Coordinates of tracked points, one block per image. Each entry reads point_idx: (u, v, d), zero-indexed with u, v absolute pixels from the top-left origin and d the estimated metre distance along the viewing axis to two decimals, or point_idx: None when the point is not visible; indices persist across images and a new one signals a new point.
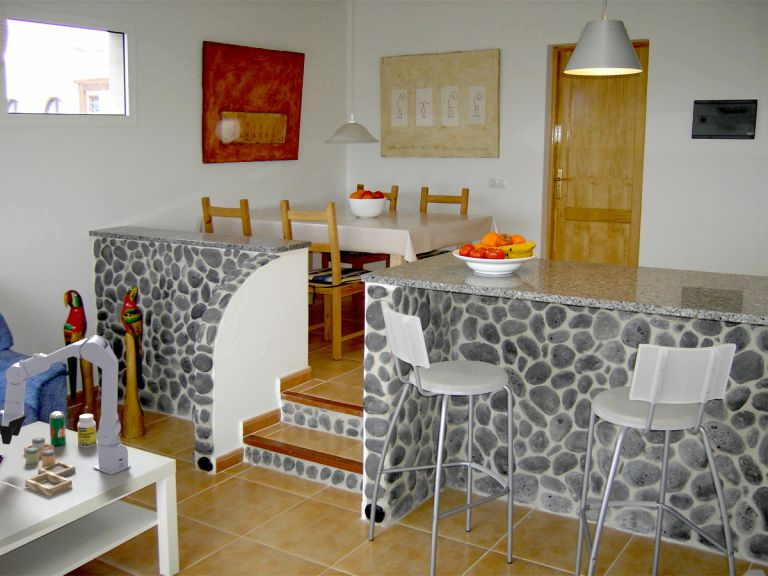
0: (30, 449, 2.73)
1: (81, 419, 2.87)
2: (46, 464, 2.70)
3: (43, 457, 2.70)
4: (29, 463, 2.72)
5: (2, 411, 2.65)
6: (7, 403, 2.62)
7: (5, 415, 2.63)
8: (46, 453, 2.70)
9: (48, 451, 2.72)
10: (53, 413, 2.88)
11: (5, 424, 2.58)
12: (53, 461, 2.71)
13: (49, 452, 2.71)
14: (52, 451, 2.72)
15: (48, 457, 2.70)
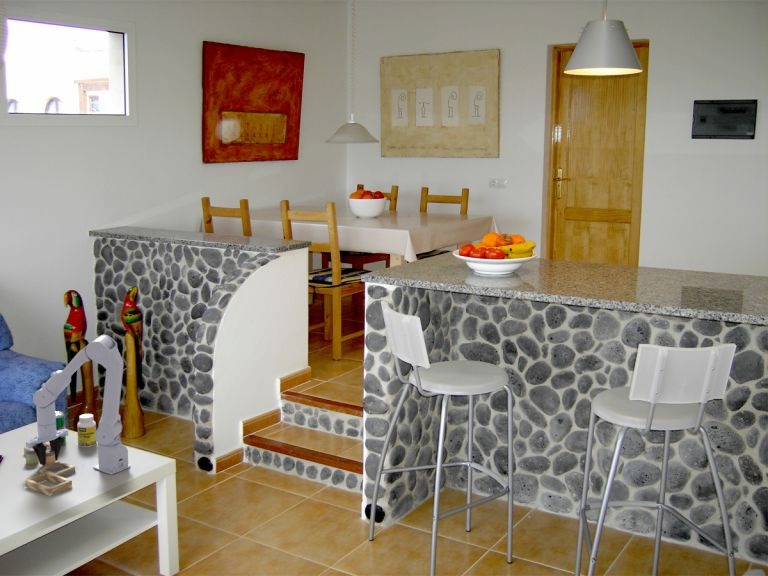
0: (30, 449, 2.73)
1: (81, 419, 2.87)
2: (46, 464, 2.70)
3: None
4: (29, 463, 2.72)
5: None
6: (37, 425, 2.68)
7: (37, 437, 2.69)
8: (46, 453, 2.70)
9: (48, 451, 2.72)
10: None
11: (28, 446, 2.65)
12: (53, 461, 2.71)
13: (49, 452, 2.71)
14: (52, 451, 2.72)
15: (48, 457, 2.70)
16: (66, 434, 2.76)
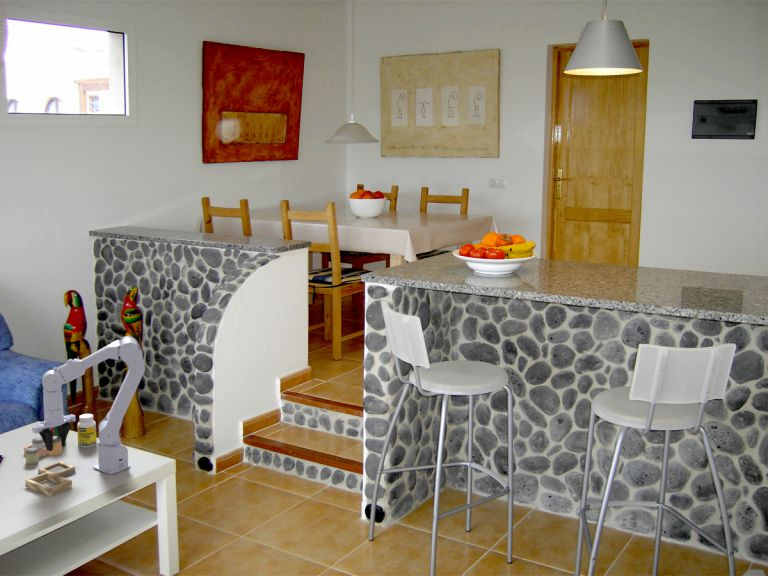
0: (30, 449, 2.73)
1: (81, 419, 2.87)
2: (52, 451, 2.64)
3: None
4: (29, 463, 2.72)
5: None
6: (44, 410, 2.62)
7: (43, 423, 2.62)
8: None
9: (54, 437, 2.65)
10: None
11: (34, 431, 2.58)
12: (59, 448, 2.65)
13: (55, 438, 2.65)
14: (58, 437, 2.65)
15: (54, 443, 2.63)
16: (73, 420, 2.69)
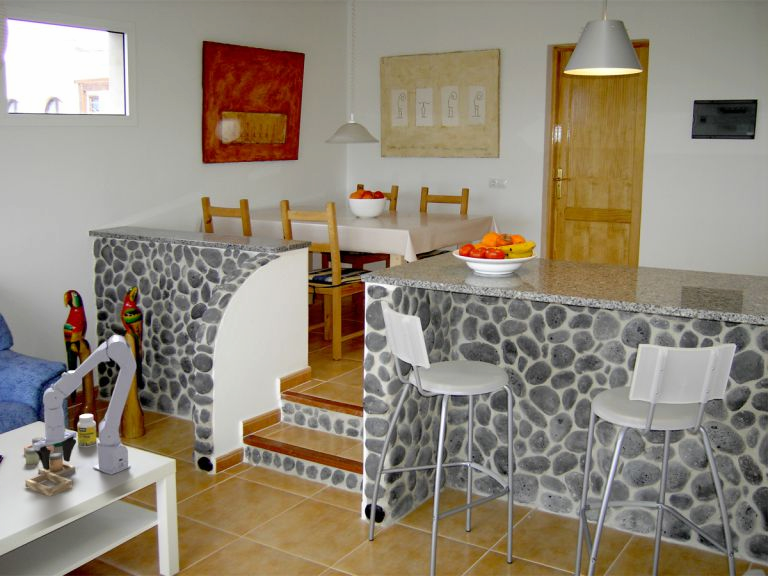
0: (30, 449, 2.73)
1: (81, 419, 2.87)
2: (53, 468, 2.65)
3: (50, 461, 2.65)
4: (29, 463, 2.72)
5: None
6: (45, 427, 2.63)
7: (44, 439, 2.63)
8: (53, 457, 2.65)
9: (55, 454, 2.66)
10: None
11: (35, 448, 2.59)
12: (60, 465, 2.66)
13: (56, 456, 2.66)
14: (59, 455, 2.66)
15: (55, 461, 2.64)
16: (74, 436, 2.70)
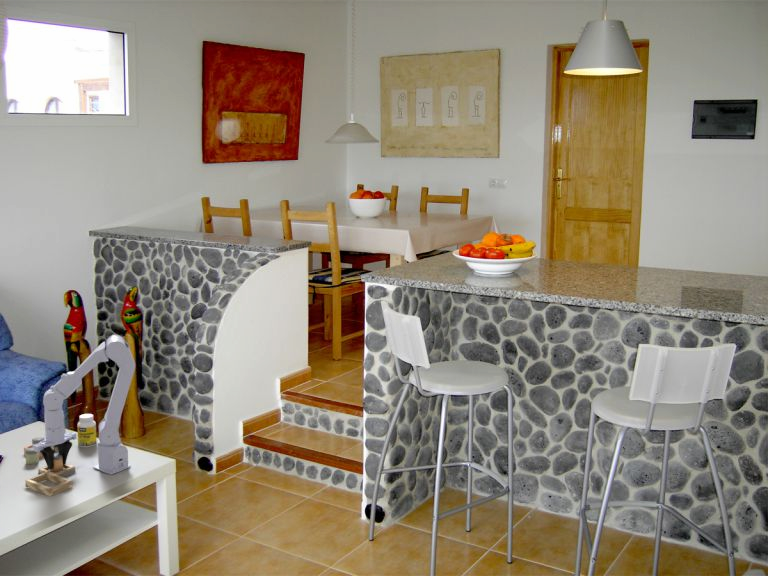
0: (30, 449, 2.73)
1: (81, 419, 2.87)
2: (53, 468, 2.65)
3: None
4: (29, 463, 2.72)
5: None
6: (45, 429, 2.63)
7: (45, 441, 2.64)
8: None
9: (55, 454, 2.66)
10: None
11: (35, 450, 2.59)
12: (60, 465, 2.66)
13: (56, 456, 2.66)
14: (59, 455, 2.66)
15: (55, 461, 2.64)
16: (74, 437, 2.70)
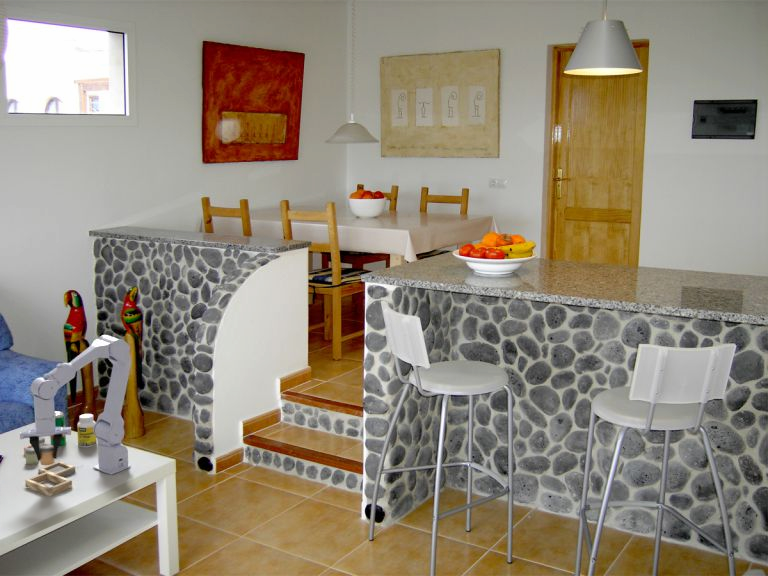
0: (30, 449, 2.73)
1: (81, 419, 2.87)
2: (41, 460, 2.54)
3: (40, 452, 2.55)
4: (29, 463, 2.72)
5: None
6: None
7: None
8: (42, 448, 2.54)
9: (47, 447, 2.55)
10: None
11: (20, 436, 2.51)
12: (47, 459, 2.54)
13: (46, 448, 2.54)
14: (50, 448, 2.55)
15: (42, 453, 2.53)
16: (68, 433, 2.55)
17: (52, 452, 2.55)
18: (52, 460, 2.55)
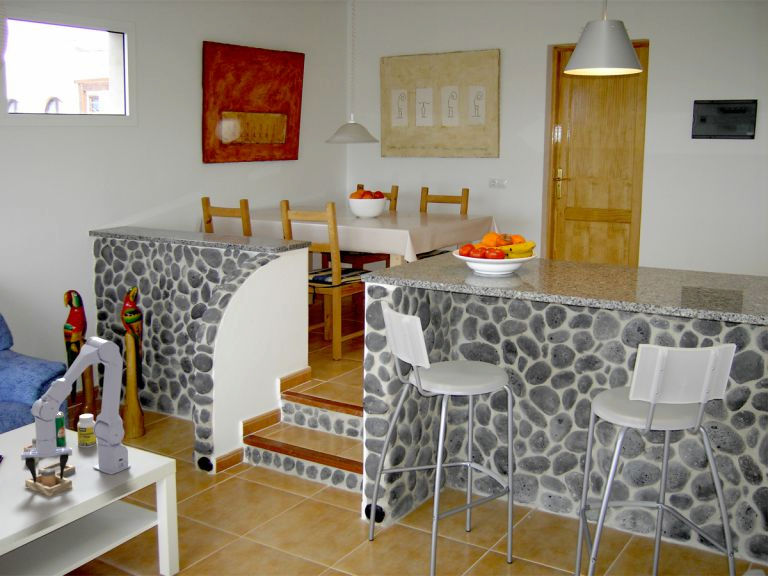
0: (30, 449, 2.73)
1: (81, 419, 2.87)
2: (42, 483, 2.56)
3: None
4: None
5: None
6: None
7: None
8: (44, 472, 2.55)
9: (49, 470, 2.57)
10: None
11: None
12: (49, 482, 2.55)
13: (47, 472, 2.56)
14: (51, 471, 2.56)
15: (43, 477, 2.55)
16: (69, 454, 2.56)
17: (53, 476, 2.56)
18: (53, 483, 2.56)
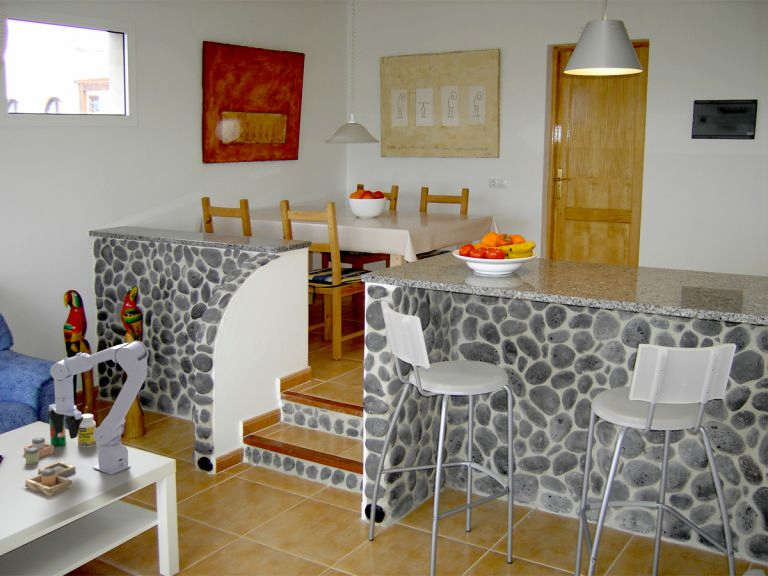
0: (30, 449, 2.73)
1: None
2: (42, 483, 2.56)
3: None
4: (29, 463, 2.72)
5: None
6: None
7: None
8: (44, 472, 2.55)
9: (49, 470, 2.57)
10: None
11: None
12: (49, 482, 2.55)
13: (47, 472, 2.56)
14: (51, 471, 2.56)
15: (43, 477, 2.55)
16: (75, 417, 2.67)
17: (53, 476, 2.56)
18: (53, 483, 2.56)
